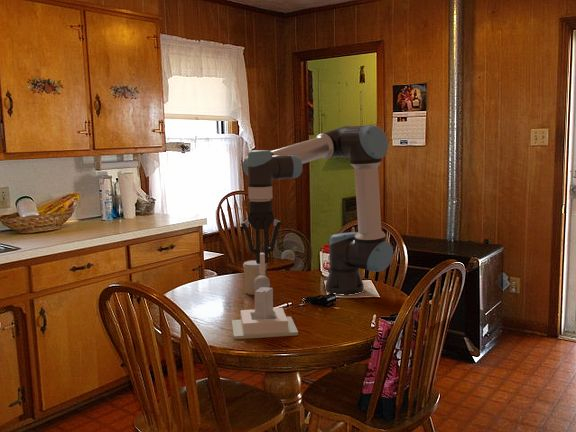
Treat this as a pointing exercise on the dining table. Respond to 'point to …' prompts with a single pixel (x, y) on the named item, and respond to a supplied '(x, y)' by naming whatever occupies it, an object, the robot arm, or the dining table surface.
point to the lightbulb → (261, 282)
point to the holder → (263, 325)
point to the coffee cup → (251, 275)
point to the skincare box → (264, 303)
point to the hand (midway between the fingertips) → (262, 273)
